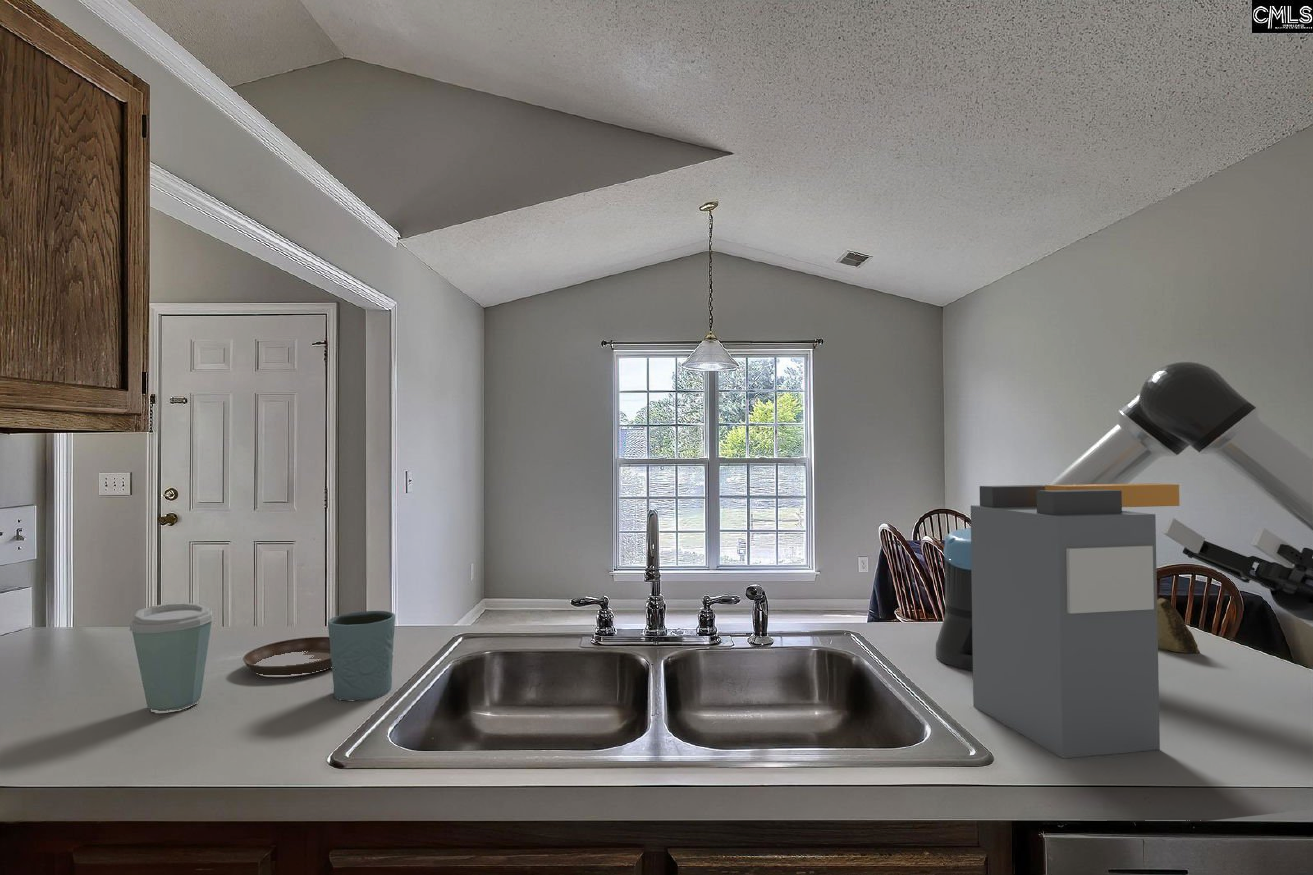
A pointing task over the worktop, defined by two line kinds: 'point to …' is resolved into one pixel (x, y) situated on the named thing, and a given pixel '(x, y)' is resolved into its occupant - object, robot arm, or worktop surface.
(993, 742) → the worktop surface
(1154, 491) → the handle
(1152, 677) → the breaker panel
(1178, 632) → the rock
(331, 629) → the teal embossed cup
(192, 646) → the disposable coffee cup
